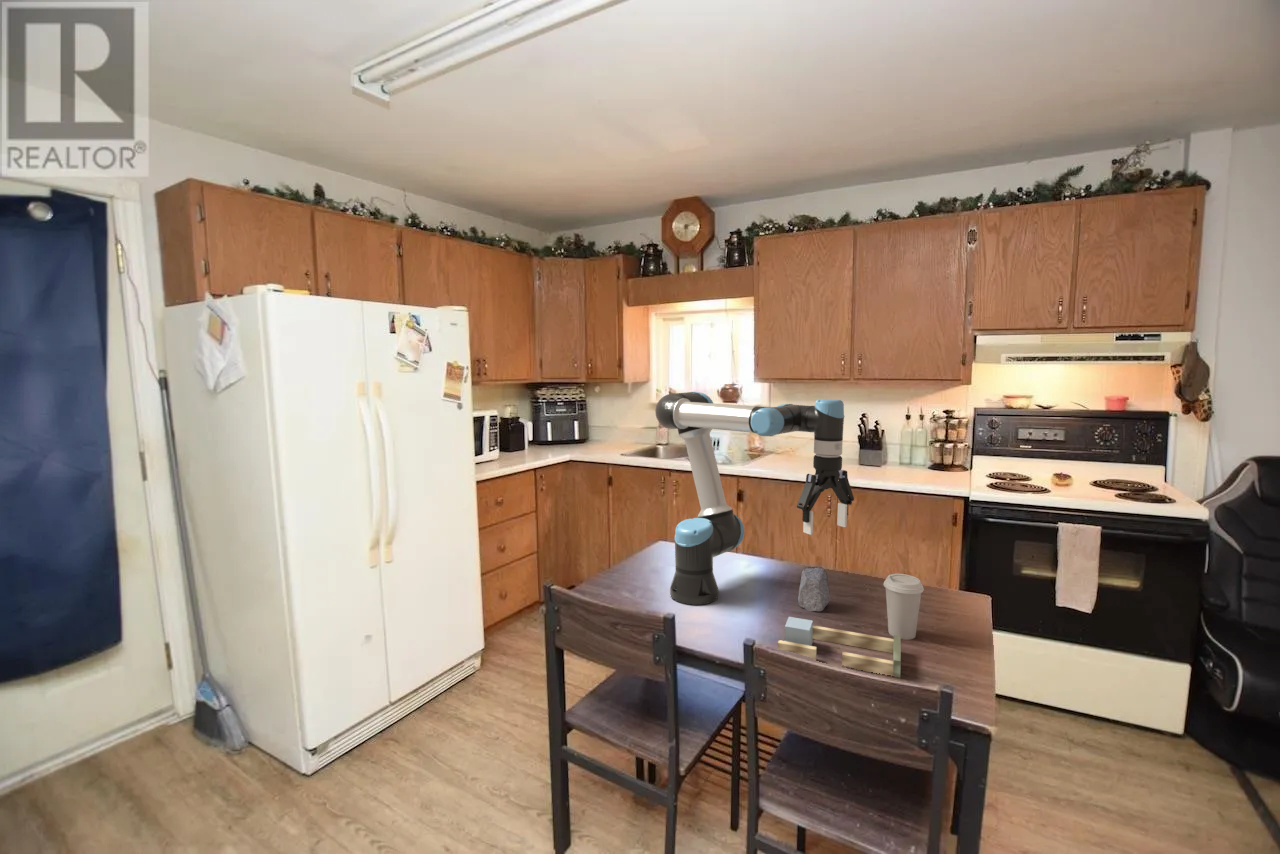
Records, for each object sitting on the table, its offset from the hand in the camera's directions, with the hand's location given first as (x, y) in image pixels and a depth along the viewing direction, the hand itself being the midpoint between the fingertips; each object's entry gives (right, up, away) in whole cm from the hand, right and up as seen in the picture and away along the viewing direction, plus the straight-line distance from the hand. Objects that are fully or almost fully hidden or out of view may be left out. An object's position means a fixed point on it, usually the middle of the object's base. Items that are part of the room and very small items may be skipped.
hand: (825, 529), depth 157 cm
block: (-12, -27, -14) cm, 33 cm away
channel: (-3, -27, -18) cm, 33 cm away
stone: (-1, -25, +9) cm, 26 cm away
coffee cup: (+17, -26, -9) cm, 33 cm away
